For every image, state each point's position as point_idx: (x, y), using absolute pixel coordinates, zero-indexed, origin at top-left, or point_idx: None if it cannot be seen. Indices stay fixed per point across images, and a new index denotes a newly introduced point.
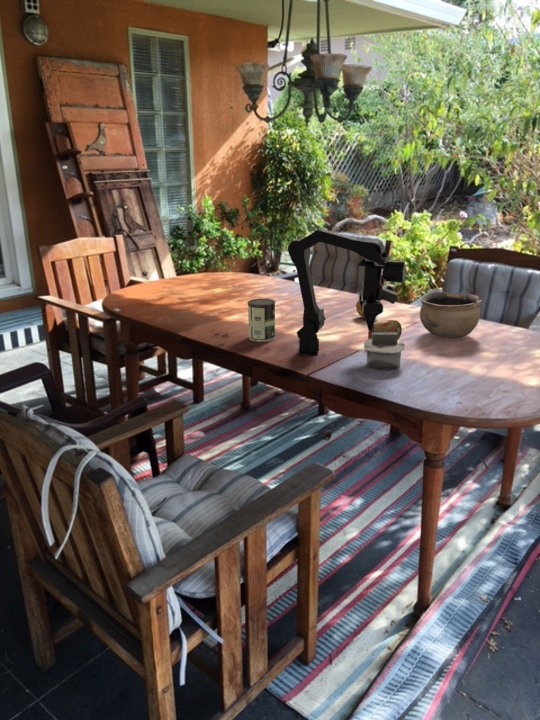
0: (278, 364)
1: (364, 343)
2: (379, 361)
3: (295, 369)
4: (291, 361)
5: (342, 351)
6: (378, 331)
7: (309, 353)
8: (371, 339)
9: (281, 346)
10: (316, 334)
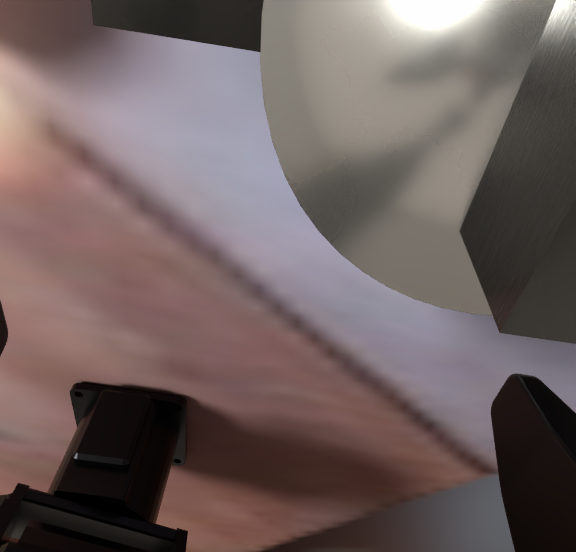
0: (311, 524)
1: (464, 309)
2: None
3: (394, 494)
4: (278, 489)
5: (97, 257)
6: None
7: (183, 432)
8: (325, 194)
9: (49, 486)
10: (69, 494)
